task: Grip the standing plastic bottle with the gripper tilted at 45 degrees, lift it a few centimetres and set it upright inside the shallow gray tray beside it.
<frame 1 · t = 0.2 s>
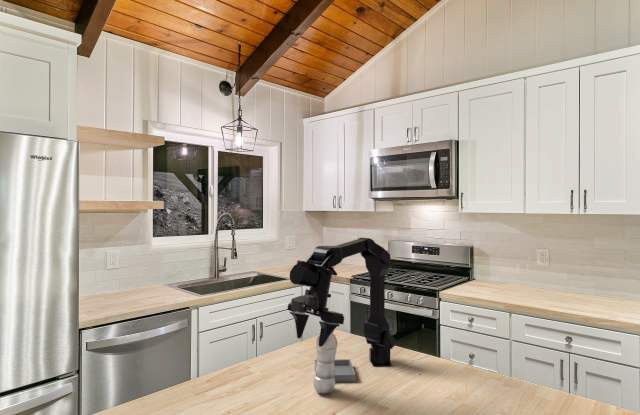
hand: (309, 342, 118), 15 cm above the countertop, tool tilted 15°, fingers open, 9 cm apart
plastic bottle: (323, 391, 121), on the countertop
gray tray: (334, 374, 133), on the countertop
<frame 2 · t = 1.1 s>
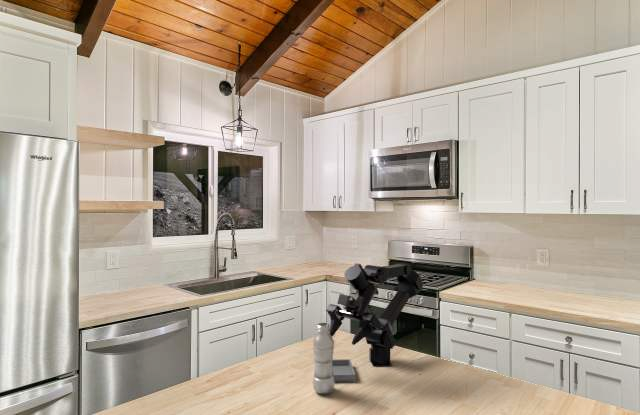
hand: (341, 340, 126), 13 cm above the countertop, tool tilted 45°, fingers open, 9 cm apart
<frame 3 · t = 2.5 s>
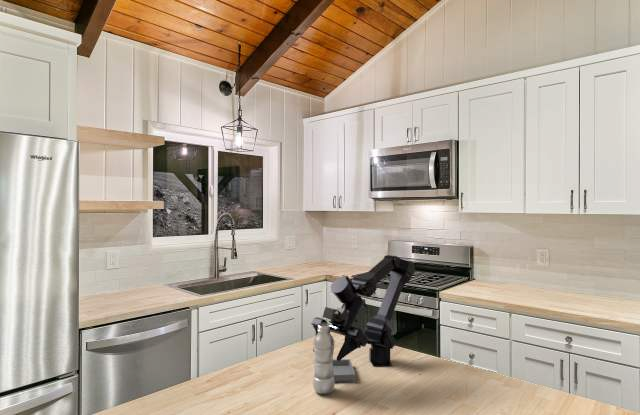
hand: (325, 356, 121), 11 cm above the countertop, tool tilted 45°, fingers open, 9 cm apart
nothing on the countertop moved.
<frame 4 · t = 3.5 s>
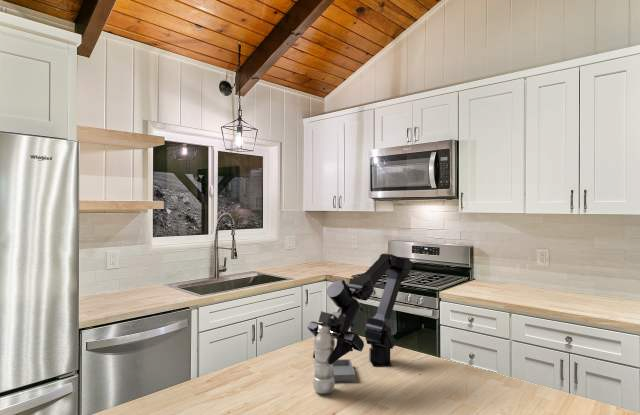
hand: (321, 361, 120), 10 cm above the countertop, tool tilted 45°, fingers closed on plastic bottle, 6 cm apart
plastic bottle: (323, 392, 121), on the countertop, touching gripper
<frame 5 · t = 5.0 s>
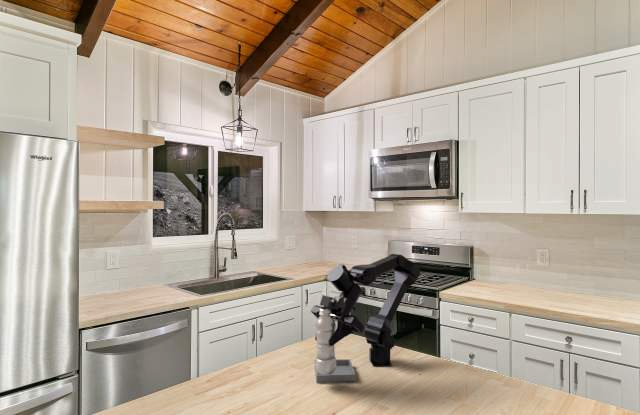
hand: (323, 342, 124), 13 cm above the countertop, tool tilted 45°, fingers closed on plastic bottle, 6 cm apart
plastic bottle: (326, 373, 125), point 4 cm above the countertop, touching gripper
when the fingers open (11 cm above the countertop, at t = 6.6 s): plastic bottle drops 1 cm, resting on gray tray.
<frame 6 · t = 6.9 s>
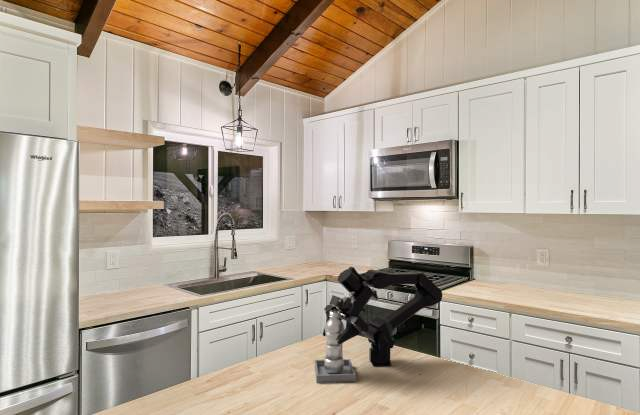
hand: (330, 339, 132), 12 cm above the countertop, tool tilted 45°, fingers open, 8 cm apart
plastic bottle: (333, 372, 133), resting on gray tray
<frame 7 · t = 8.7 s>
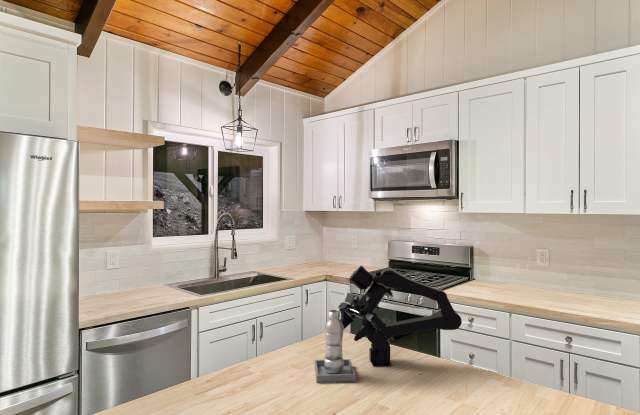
hand: (346, 336, 135), 12 cm above the countertop, tool tilted 45°, fingers open, 9 cm apart
nothing on the countertop moved.
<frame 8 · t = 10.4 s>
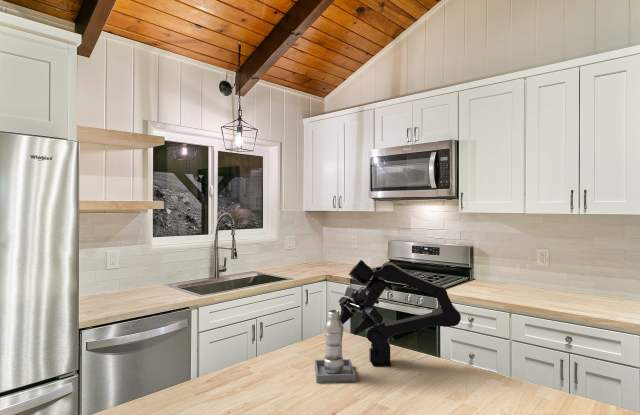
hand: (345, 330, 135), 14 cm above the countertop, tool tilted 45°, fingers open, 9 cm apart
nothing on the countertop moved.
at the end: plastic bottle inside the target area on the gray tray (0.1 cm from its centre), point 0.3 cm above the gray tray's base; plastic bottle tilted 0°; the gripper is holding nothing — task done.
